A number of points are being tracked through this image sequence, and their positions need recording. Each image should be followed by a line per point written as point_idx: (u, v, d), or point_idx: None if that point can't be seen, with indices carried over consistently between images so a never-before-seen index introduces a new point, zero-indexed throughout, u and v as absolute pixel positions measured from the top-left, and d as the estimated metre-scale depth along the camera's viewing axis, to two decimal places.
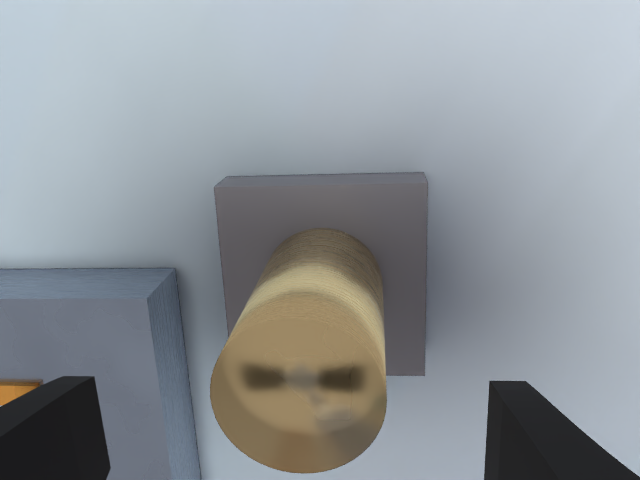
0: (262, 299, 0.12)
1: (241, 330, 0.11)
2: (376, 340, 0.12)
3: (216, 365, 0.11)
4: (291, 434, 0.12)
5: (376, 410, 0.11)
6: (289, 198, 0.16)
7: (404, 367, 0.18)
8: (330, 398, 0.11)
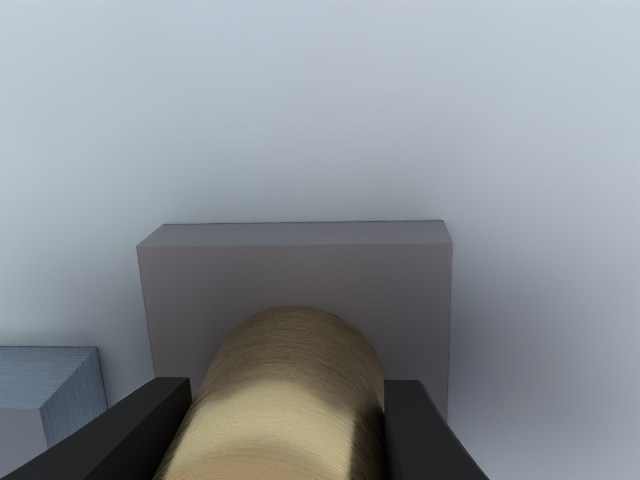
0: (176, 478, 0.07)
1: None
2: None
3: None
4: None
5: None
6: (247, 263, 0.11)
7: None
8: None
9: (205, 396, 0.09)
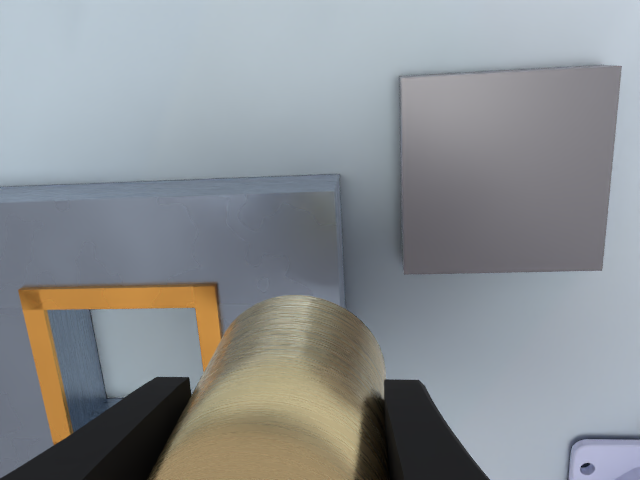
0: (186, 457, 0.07)
1: None
2: None
3: None
4: None
5: None
6: (478, 87, 0.16)
7: (581, 262, 0.18)
8: None
9: (212, 379, 0.09)
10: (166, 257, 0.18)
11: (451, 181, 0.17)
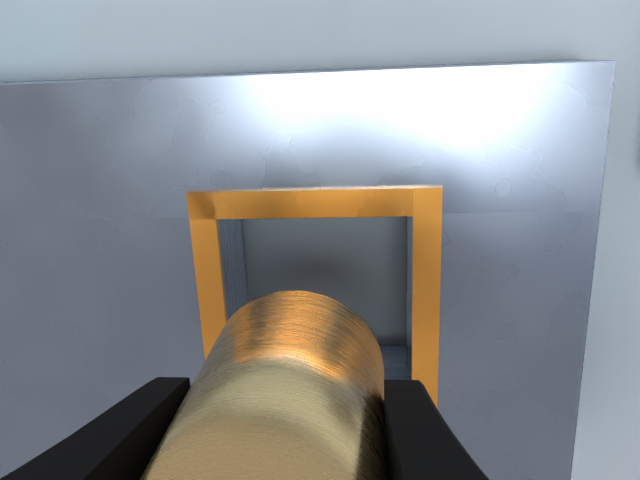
0: (187, 448, 0.07)
1: None
2: None
3: None
4: None
5: None
6: None
7: None
8: None
9: (213, 371, 0.09)
10: (381, 151, 0.14)
11: None
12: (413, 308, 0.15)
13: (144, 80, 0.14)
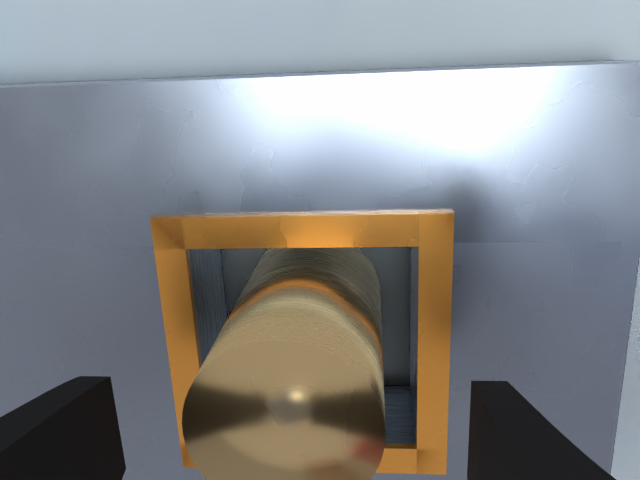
0: (251, 312, 0.11)
1: (225, 349, 0.10)
2: (377, 371, 0.11)
3: (192, 386, 0.10)
4: (271, 471, 0.10)
5: (372, 454, 0.10)
6: None
7: None
8: (320, 435, 0.10)
9: (259, 278, 0.13)
10: (381, 170, 0.12)
11: None
12: (419, 353, 0.13)
13: (98, 85, 0.12)
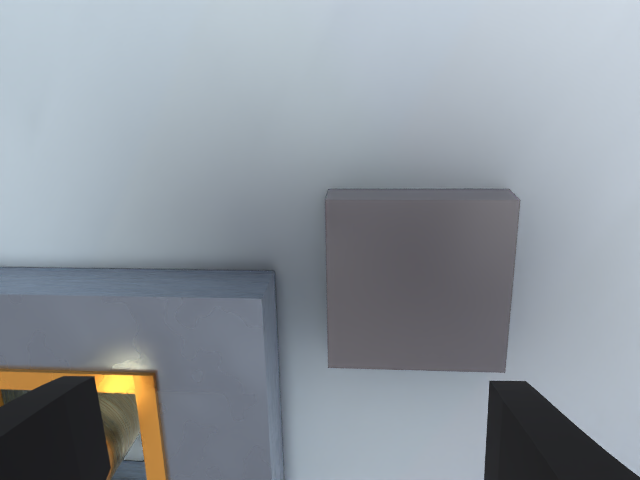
0: None
1: None
2: None
3: None
4: None
5: None
6: (393, 211, 0.18)
7: (487, 364, 0.20)
8: None
9: None
10: (109, 348, 0.20)
11: (370, 290, 0.19)
12: (144, 455, 0.21)
13: None
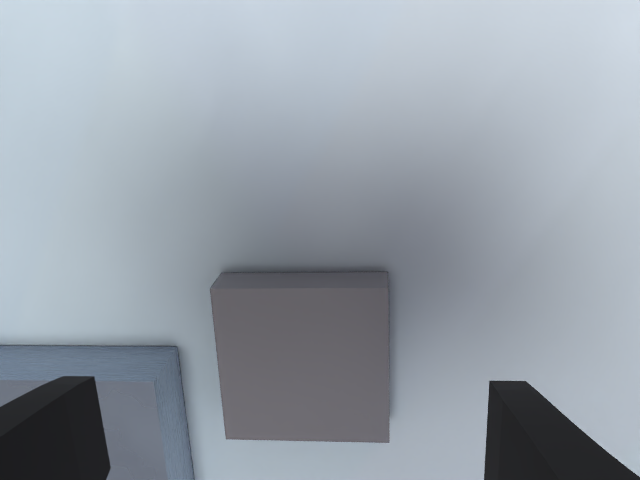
0: None
1: None
2: None
3: None
4: None
5: None
6: (273, 298, 0.20)
7: (372, 435, 0.21)
8: None
9: None
10: None
11: (258, 369, 0.20)
12: None
13: None
